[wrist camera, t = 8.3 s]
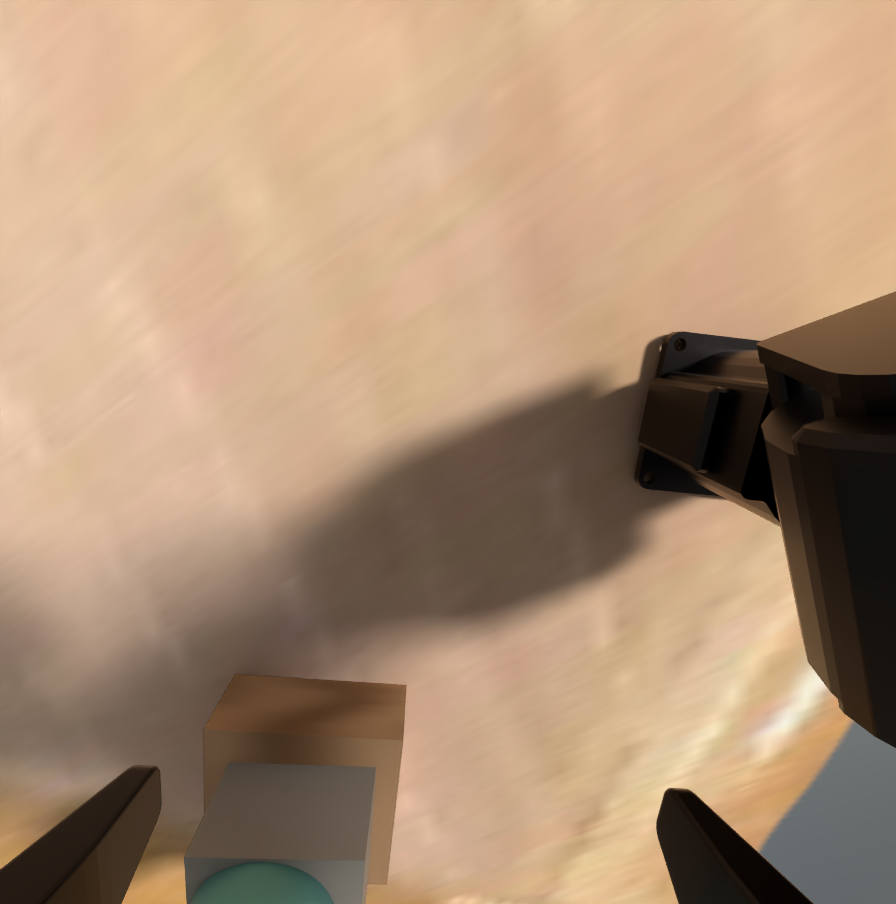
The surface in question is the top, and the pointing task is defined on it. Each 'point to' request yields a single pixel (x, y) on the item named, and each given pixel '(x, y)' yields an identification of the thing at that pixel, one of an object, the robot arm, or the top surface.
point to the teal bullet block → (261, 886)
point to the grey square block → (289, 825)
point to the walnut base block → (313, 737)
